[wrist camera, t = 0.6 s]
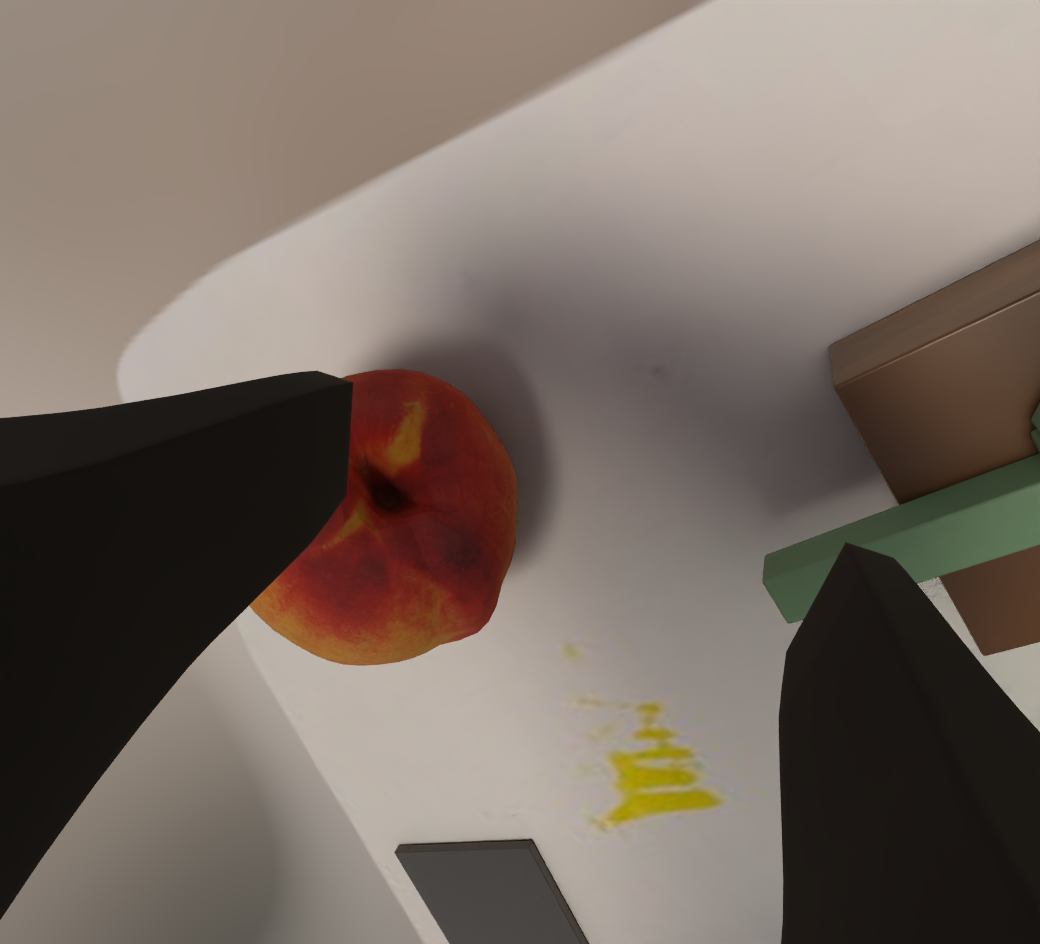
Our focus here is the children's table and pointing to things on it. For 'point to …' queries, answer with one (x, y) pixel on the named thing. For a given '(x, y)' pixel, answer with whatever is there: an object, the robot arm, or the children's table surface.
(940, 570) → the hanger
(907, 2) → the children's table surface
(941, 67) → the children's table surface
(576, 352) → the children's table surface
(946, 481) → the block with upright peg
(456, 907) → the coaster
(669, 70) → the children's table surface
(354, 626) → the fruit
